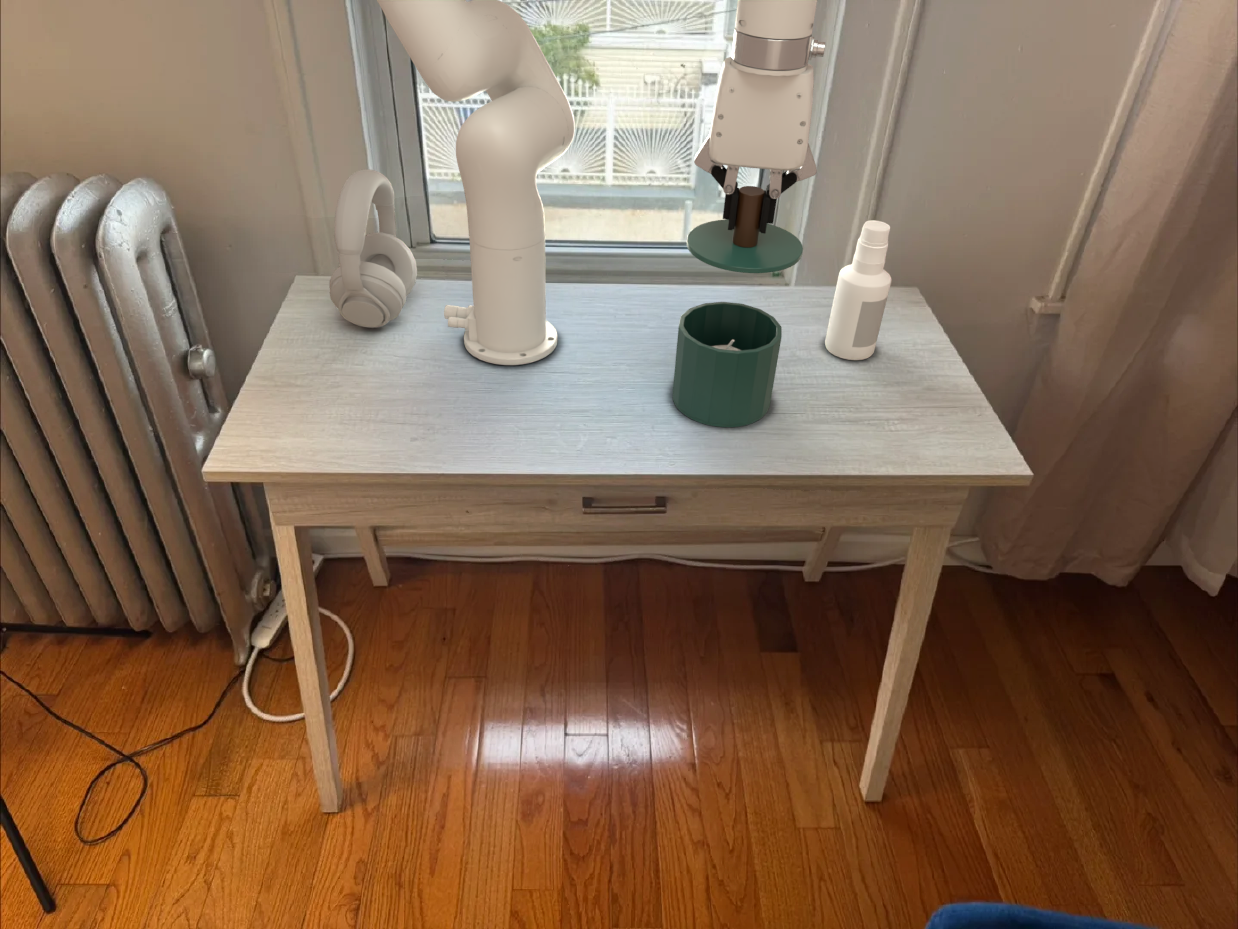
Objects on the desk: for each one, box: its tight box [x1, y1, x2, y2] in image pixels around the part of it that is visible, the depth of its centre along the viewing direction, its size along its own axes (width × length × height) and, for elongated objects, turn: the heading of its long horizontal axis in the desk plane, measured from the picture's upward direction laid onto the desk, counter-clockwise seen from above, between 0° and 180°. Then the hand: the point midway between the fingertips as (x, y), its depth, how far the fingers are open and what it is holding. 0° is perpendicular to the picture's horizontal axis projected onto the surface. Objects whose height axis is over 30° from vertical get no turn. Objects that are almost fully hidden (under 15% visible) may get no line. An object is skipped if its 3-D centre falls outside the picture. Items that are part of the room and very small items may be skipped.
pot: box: [671, 301, 783, 428], centre depth 113 cm, size 12×12×10 cm
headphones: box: [328, 168, 418, 329], centre depth 124 cm, size 18×10×20 cm, turn 177°
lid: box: [686, 185, 804, 274], centre depth 102 cm, size 13×13×7 cm
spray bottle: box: [824, 219, 892, 361], centre depth 122 cm, size 7×7×18 cm
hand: (746, 225), depth 102 cm, fingers closed on lid, 2 cm apart
